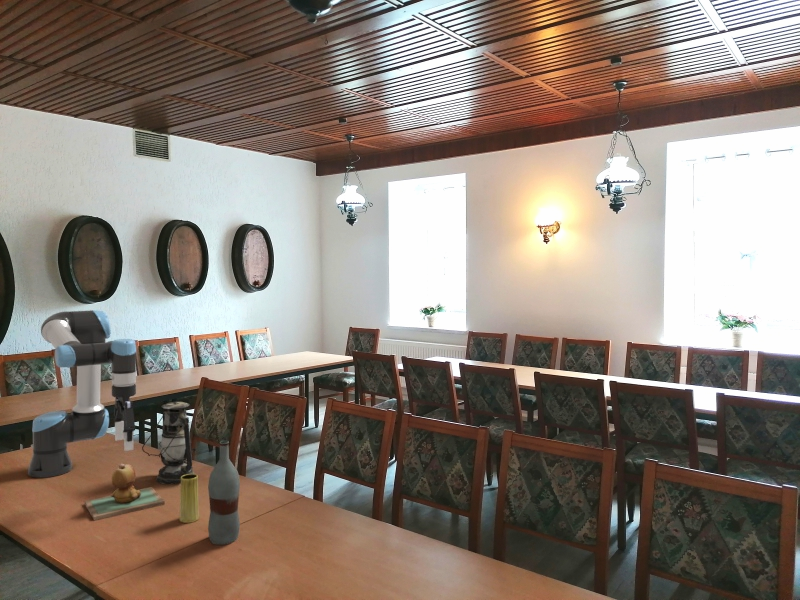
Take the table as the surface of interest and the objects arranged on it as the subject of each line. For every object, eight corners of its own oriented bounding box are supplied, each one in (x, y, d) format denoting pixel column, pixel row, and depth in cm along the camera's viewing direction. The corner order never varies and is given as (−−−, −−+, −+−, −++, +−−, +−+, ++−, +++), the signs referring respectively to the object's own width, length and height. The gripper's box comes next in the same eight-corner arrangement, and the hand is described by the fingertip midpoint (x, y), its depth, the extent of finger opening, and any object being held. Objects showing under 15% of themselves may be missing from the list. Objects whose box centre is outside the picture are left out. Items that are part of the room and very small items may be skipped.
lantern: (207, 477, 226) (206, 402, 224) (164, 492, 210) (164, 411, 208) (176, 467, 236) (176, 396, 234) (134, 481, 220) (133, 404, 218)
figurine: (146, 495, 203) (140, 459, 199) (134, 509, 196) (128, 471, 191) (120, 494, 204) (113, 457, 200) (107, 507, 197) (100, 469, 192)
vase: (203, 517, 189) (203, 475, 188) (189, 524, 184) (189, 481, 183) (189, 513, 192) (189, 472, 191) (175, 520, 186) (175, 477, 185)
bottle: (210, 548, 168) (210, 448, 167) (205, 535, 176) (205, 439, 175) (242, 541, 173) (243, 444, 171) (236, 529, 181) (236, 436, 179)
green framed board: (84, 504, 198) (84, 500, 198) (151, 490, 212) (151, 486, 212) (94, 520, 185) (94, 516, 185) (164, 504, 199) (164, 500, 199)
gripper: (104, 379, 204) (104, 437, 205) (120, 392, 184) (120, 456, 186) (126, 377, 209) (126, 434, 210) (145, 389, 189) (145, 452, 190)
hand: (124, 445), depth 198 cm, fingers open, 13 cm apart
